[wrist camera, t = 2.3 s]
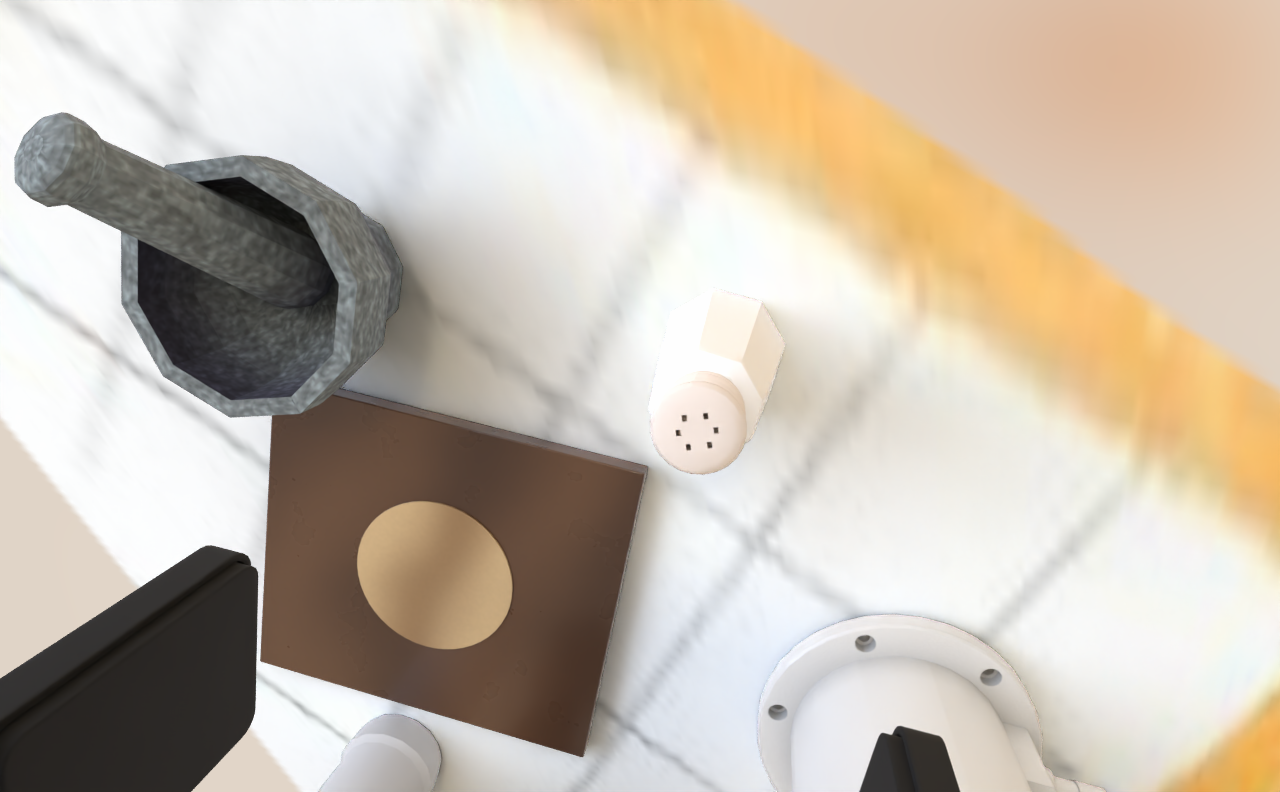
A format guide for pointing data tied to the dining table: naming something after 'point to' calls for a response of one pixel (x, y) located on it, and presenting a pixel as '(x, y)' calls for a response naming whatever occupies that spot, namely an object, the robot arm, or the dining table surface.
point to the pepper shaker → (712, 380)
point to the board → (446, 564)
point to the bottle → (387, 758)
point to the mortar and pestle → (229, 266)
